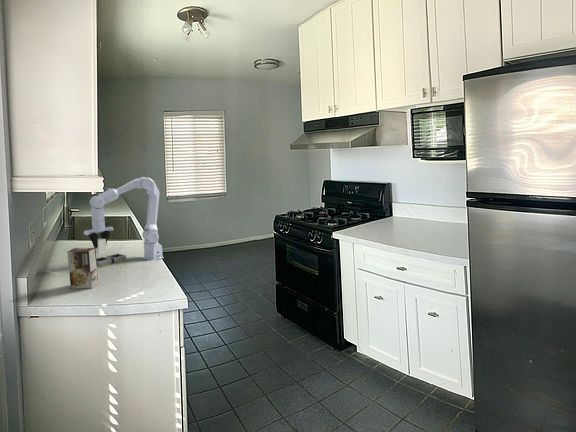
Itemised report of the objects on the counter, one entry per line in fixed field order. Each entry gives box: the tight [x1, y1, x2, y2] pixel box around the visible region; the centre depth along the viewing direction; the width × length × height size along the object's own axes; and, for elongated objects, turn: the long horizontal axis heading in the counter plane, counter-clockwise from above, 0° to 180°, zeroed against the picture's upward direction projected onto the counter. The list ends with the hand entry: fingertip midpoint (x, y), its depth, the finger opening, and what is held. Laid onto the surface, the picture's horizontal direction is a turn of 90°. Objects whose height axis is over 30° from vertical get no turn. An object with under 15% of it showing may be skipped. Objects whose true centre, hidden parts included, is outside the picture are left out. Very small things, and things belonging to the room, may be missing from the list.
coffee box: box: [66, 247, 99, 289], centre depth 164 cm, size 9×6×16 cm
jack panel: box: [96, 253, 127, 268], centre depth 200 cm, size 9×16×3 cm, turn 148°
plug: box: [96, 237, 107, 255], centre depth 195 cm, size 5×4×7 cm
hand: (100, 246), depth 195 cm, fingers closed on plug, 4 cm apart
